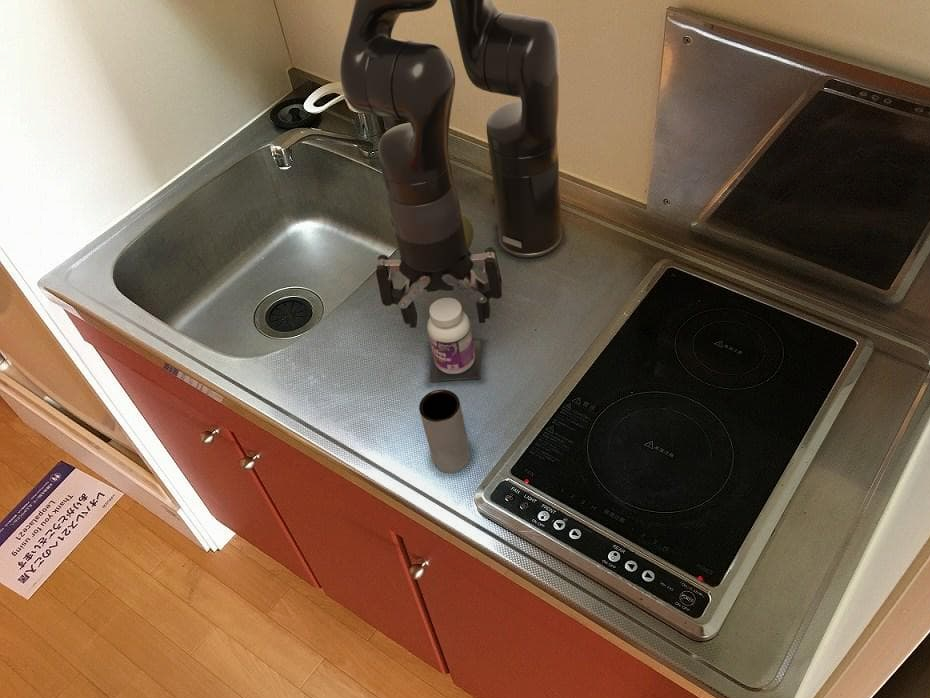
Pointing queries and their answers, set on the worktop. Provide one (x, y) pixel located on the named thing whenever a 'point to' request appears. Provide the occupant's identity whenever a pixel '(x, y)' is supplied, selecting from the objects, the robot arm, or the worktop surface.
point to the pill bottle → (450, 336)
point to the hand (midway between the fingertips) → (448, 320)
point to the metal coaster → (469, 374)
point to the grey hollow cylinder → (445, 430)
